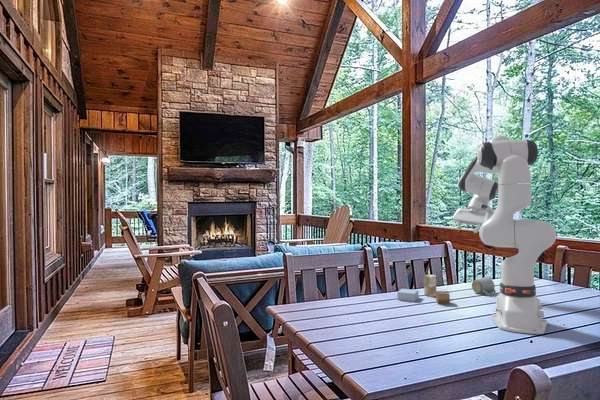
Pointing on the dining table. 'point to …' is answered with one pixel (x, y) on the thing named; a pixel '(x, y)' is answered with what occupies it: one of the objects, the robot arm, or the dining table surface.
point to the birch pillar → (430, 285)
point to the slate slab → (408, 295)
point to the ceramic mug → (484, 286)
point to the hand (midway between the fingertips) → (466, 231)
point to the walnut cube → (443, 297)
